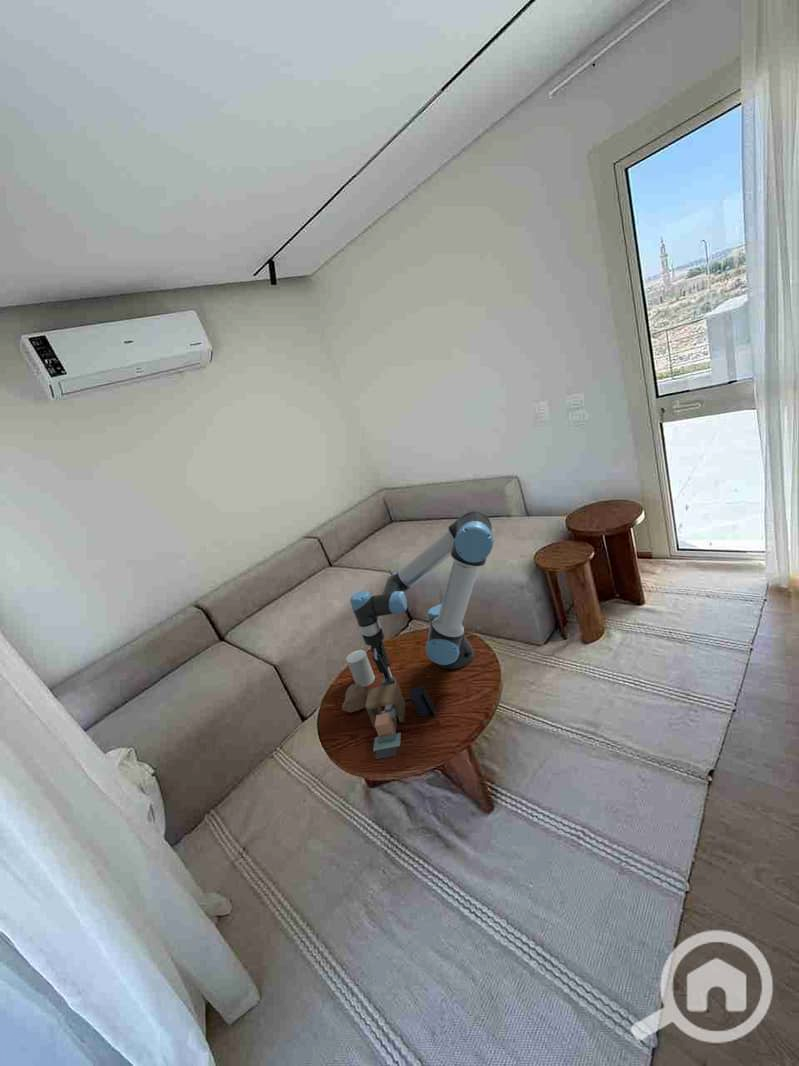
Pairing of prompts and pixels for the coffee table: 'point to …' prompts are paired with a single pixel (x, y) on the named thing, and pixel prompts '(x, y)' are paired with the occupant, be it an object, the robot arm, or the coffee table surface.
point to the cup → (360, 668)
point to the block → (384, 724)
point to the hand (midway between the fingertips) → (390, 682)
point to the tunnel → (385, 701)
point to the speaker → (421, 701)
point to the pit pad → (386, 753)
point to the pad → (387, 743)
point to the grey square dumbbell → (392, 713)
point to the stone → (355, 698)
